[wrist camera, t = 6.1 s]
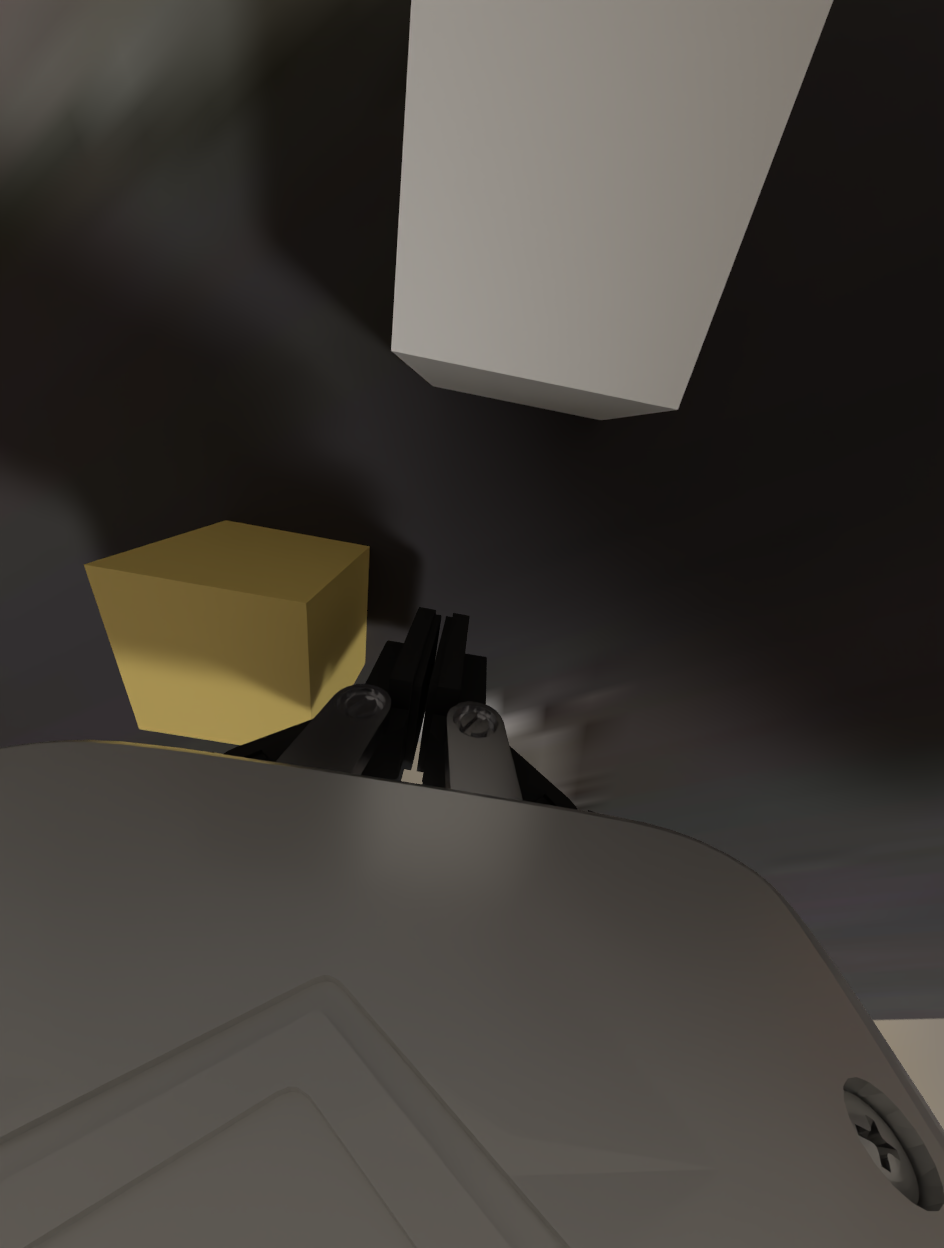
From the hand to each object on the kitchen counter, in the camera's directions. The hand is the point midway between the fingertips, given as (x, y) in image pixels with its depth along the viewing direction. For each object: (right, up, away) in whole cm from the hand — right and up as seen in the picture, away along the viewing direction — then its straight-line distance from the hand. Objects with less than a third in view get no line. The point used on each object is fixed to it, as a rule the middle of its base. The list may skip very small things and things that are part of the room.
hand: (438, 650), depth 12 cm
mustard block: (-5, +2, +2) cm, 6 cm away
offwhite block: (+3, +9, -3) cm, 10 cm away
